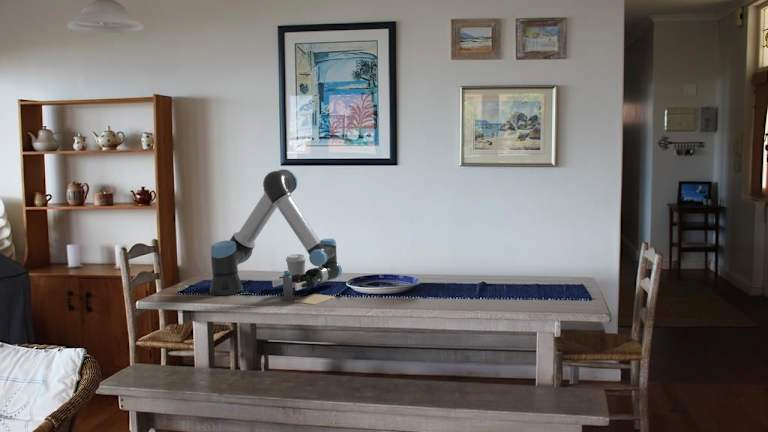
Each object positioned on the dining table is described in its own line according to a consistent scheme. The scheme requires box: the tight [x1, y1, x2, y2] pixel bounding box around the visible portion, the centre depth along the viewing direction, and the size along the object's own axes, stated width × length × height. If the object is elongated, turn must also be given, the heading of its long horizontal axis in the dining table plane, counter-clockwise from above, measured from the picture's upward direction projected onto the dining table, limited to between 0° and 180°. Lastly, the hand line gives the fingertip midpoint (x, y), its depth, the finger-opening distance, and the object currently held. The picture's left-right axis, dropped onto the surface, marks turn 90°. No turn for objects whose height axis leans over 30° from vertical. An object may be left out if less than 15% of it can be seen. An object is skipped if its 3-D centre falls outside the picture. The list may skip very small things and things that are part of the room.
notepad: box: [293, 293, 336, 306], centre depth 297 cm, size 12×14×1 cm
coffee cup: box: [285, 253, 307, 289], centre depth 322 cm, size 10×10×15 cm
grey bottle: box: [282, 270, 294, 302], centre depth 297 cm, size 4×4×13 cm
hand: (284, 285), depth 295 cm, fingers open, 13 cm apart
